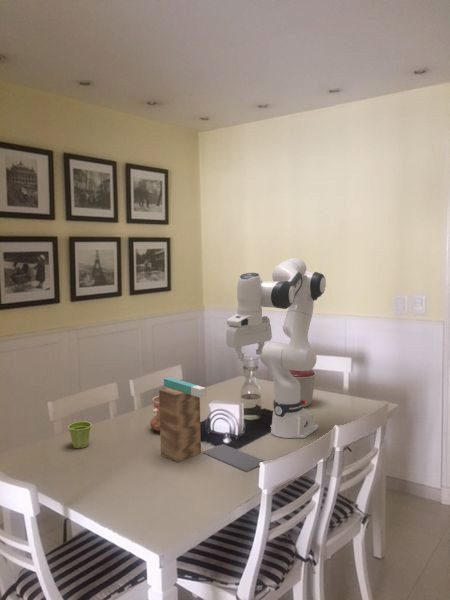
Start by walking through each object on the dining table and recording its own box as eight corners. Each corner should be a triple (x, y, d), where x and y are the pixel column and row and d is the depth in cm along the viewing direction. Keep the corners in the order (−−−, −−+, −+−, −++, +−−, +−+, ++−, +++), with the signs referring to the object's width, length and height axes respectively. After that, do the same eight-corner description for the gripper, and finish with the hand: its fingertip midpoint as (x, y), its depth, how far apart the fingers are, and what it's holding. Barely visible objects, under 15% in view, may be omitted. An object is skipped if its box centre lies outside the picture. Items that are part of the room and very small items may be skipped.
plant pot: (97, 443, 208) (96, 423, 207) (82, 451, 200) (81, 430, 199) (79, 440, 212) (78, 420, 211) (64, 448, 204) (62, 427, 203)
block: (169, 384, 200) (169, 377, 200) (206, 395, 184) (205, 387, 184) (163, 386, 198) (163, 378, 198) (199, 397, 182) (199, 389, 182)
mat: (223, 445, 204) (223, 444, 204) (266, 462, 187) (266, 461, 187) (202, 453, 197) (202, 451, 197) (246, 472, 179) (246, 470, 179)
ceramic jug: (166, 438, 212) (166, 406, 211) (141, 431, 220) (141, 400, 219) (192, 426, 227) (192, 396, 226) (168, 420, 235) (168, 391, 234)
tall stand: (184, 446, 204) (183, 383, 201) (200, 453, 197) (199, 388, 194) (161, 454, 196) (159, 389, 193) (176, 462, 188) (174, 395, 186)
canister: (319, 409, 247) (319, 368, 244) (282, 410, 247) (282, 368, 245) (313, 398, 265) (313, 359, 262) (278, 399, 265) (278, 360, 263)
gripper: (263, 314, 189) (263, 350, 190) (223, 320, 175) (223, 359, 176) (275, 316, 184) (275, 353, 185) (235, 322, 170) (236, 362, 172)
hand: (250, 356), depth 181 cm, fingers open, 8 cm apart
